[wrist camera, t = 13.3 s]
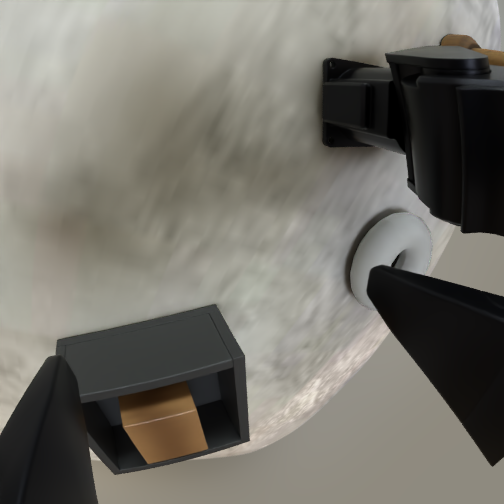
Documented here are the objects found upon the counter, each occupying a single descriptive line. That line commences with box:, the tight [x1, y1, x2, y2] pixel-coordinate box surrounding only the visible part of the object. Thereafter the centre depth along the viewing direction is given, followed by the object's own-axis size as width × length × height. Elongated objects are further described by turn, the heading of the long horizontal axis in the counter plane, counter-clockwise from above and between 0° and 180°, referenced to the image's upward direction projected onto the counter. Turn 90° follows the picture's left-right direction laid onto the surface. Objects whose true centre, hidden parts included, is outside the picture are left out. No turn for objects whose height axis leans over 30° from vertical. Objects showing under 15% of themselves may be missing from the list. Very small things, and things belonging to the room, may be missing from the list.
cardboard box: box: [118, 381, 208, 464], centre depth 21 cm, size 5×6×6 cm
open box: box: [56, 305, 250, 475], centre depth 22 cm, size 13×12×6 cm
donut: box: [350, 212, 433, 311], centre depth 28 cm, size 10×4×10 cm
